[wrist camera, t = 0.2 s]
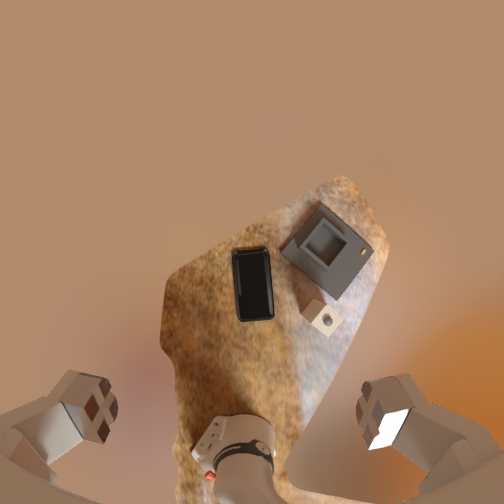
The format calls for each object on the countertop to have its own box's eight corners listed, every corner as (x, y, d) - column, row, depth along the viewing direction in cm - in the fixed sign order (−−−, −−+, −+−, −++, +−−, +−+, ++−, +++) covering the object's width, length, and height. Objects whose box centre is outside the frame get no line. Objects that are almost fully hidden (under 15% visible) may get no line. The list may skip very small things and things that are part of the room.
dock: (335, 300, 60) (341, 302, 56) (280, 253, 60) (282, 251, 56) (372, 251, 60) (379, 250, 56) (320, 204, 61) (324, 200, 57)
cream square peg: (315, 326, 59) (329, 338, 48) (300, 313, 59) (311, 324, 48) (328, 310, 59) (344, 319, 48) (313, 298, 60) (327, 304, 48)
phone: (268, 248, 60) (274, 319, 59) (268, 248, 61) (274, 318, 60) (231, 251, 60) (237, 322, 59) (231, 252, 61) (237, 321, 60)
